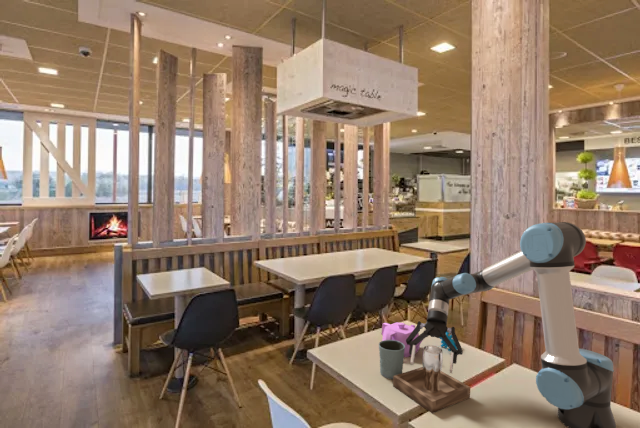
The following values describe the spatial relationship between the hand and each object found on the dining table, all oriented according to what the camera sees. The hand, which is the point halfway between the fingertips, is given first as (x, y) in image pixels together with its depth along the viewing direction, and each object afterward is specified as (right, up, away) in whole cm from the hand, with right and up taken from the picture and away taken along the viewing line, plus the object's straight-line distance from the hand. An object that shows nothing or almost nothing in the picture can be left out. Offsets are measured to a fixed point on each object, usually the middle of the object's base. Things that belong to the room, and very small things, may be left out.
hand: (430, 367), depth 133 cm
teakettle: (-2, -8, +37) cm, 38 cm away
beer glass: (+1, -9, +2) cm, 9 cm away
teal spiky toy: (+20, -8, +39) cm, 45 cm away
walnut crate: (0, -10, +2) cm, 10 cm away
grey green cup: (-12, -9, +14) cm, 20 cm away
